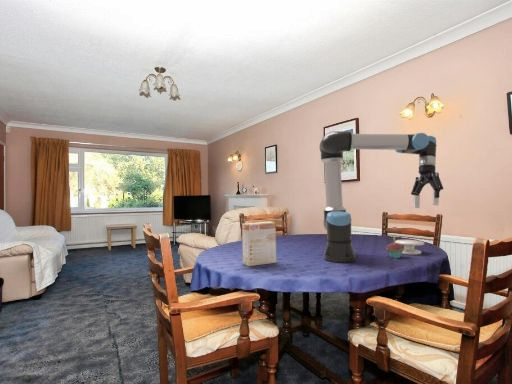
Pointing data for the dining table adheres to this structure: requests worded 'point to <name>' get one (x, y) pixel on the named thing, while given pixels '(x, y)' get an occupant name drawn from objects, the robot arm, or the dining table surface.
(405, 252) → the cake stand
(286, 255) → the dining table surface
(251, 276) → the dining table surface
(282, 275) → the dining table surface
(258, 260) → the coffeecake box
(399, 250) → the cupcake
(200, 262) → the dining table surface
